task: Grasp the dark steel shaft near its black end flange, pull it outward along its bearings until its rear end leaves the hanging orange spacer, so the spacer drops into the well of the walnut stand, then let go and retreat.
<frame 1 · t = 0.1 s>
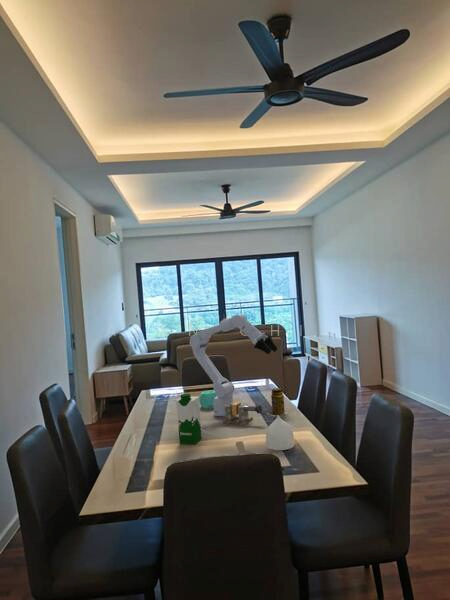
hand: (273, 351, 205), 32 cm above the table, tool tilted 50°, fingers open, 7 cm apart
spacer: (236, 413, 206), point 3 cm above the table, touching shaft
bearing stand: (241, 421, 205), on the table
shaft: (245, 408, 204), point 7 cm above the table, slide at 0.0 cm, touching spacer
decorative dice: (209, 406, 238), on the table
condiment: (277, 414, 214), on the table
milk carton: (190, 441, 182), on the table
teardrop: (280, 445, 170), on the table
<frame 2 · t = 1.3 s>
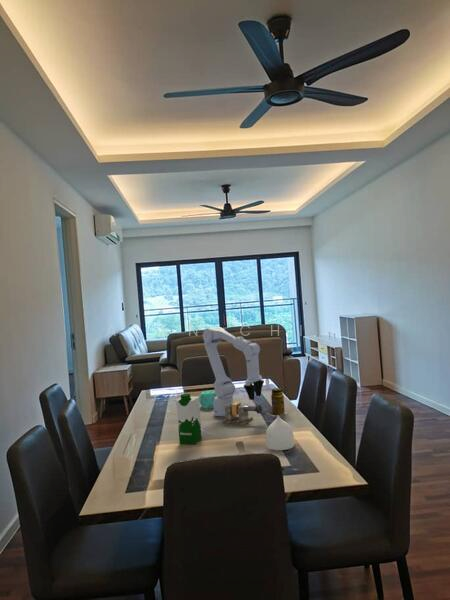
hand: (255, 397, 206), 10 cm above the table, tool pointing down, fingers open, 7 cm apart
nothing on the table moved.
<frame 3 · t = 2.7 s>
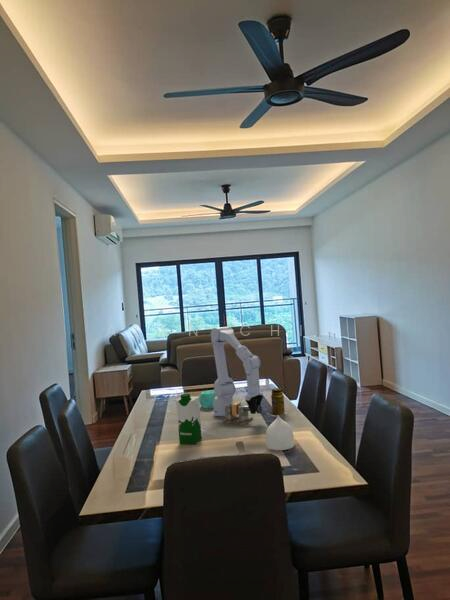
hand: (255, 412, 201), 5 cm above the table, tool pointing down, fingers closed on shaft, 4 cm apart
shaft: (245, 408, 204), point 7 cm above the table, slide at 0.0 cm, touching gripper, spacer
everything else where it was.
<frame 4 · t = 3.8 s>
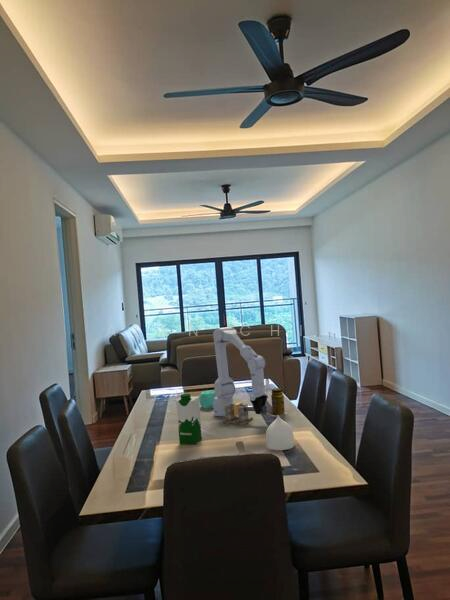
hand: (260, 412, 200), 5 cm above the table, tool pointing down, fingers closed on shaft, 4 cm apart
spacer: (238, 414, 205), point 4 cm above the table
shaft: (250, 408, 202), point 7 cm above the table, slide at 2.4 cm, touching gripper
everything else where it was.
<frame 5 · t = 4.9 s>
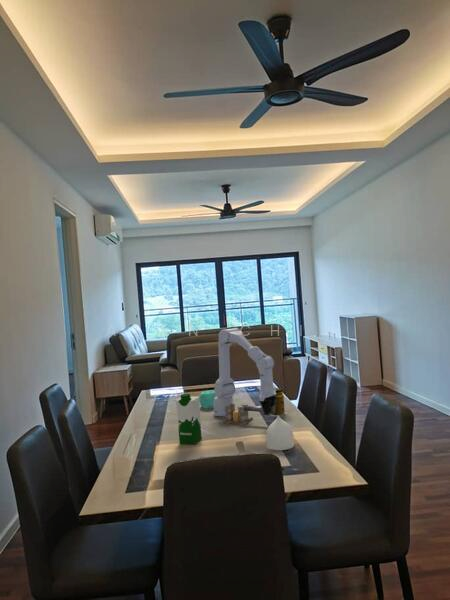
hand: (268, 413, 198), 5 cm above the table, tool pointing down, fingers closed on shaft, 4 cm apart
spacer: (237, 421, 206), resting in bearing stand
shaft: (258, 409, 200), point 7 cm above the table, slide at 6.8 cm, touching gripper
everything else where it was.
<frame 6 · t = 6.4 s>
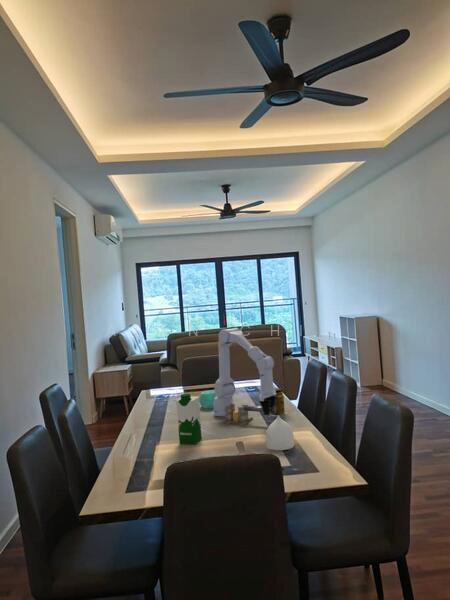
hand: (268, 413, 198), 5 cm above the table, tool pointing down, fingers open, 4 cm apart
shaft: (259, 409, 200), point 7 cm above the table, slide at 7.3 cm
everything else where it was.
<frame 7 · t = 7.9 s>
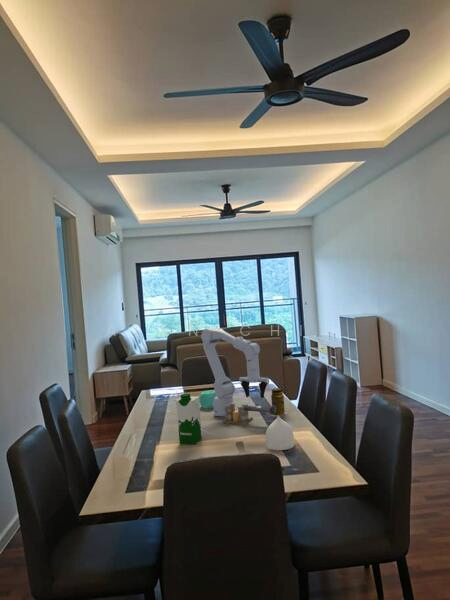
hand: (255, 397, 208), 10 cm above the table, tool pointing down, fingers open, 7 cm apart
nothing on the table moved.
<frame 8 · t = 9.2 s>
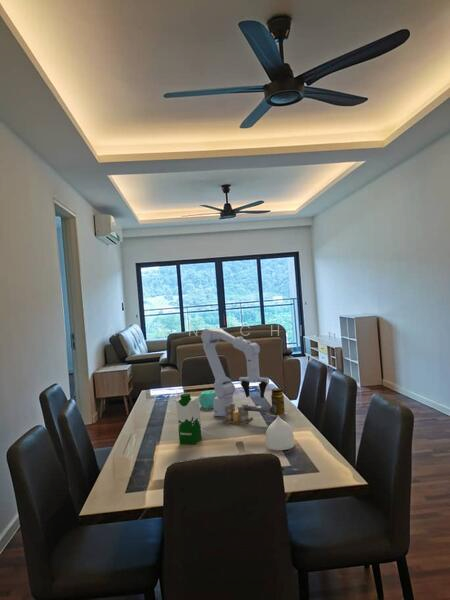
hand: (255, 397, 208), 10 cm above the table, tool pointing down, fingers open, 7 cm apart
nothing on the table moved.
at the end: spacer resting in bearing stand; spacer inside the target area on the bearing stand (0.1 cm from its centre), point 0.0 cm above the bearing stand's base; shaft slide at 7.3 cm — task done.
